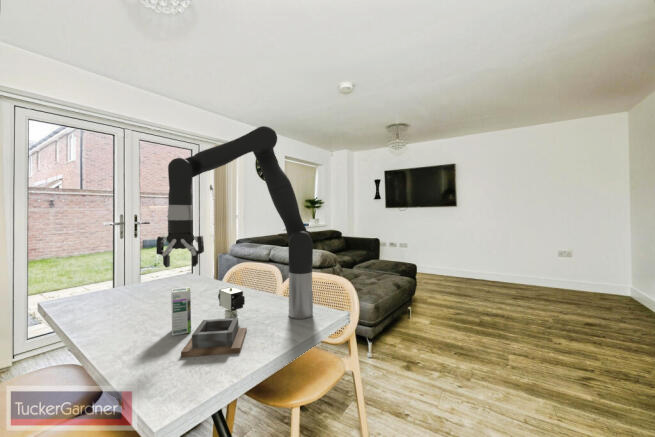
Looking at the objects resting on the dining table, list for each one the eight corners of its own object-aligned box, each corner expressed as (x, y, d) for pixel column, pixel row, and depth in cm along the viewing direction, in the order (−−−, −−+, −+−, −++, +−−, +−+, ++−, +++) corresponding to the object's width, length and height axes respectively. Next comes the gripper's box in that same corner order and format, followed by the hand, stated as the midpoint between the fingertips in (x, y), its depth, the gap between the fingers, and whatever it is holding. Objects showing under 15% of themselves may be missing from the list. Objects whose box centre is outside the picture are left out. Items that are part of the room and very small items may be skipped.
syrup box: (171, 336, 90) (171, 292, 90) (172, 329, 95) (171, 287, 95) (191, 332, 92) (190, 290, 92) (190, 326, 98) (190, 285, 97)
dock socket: (246, 332, 93) (246, 315, 93) (240, 352, 79) (240, 334, 79) (196, 335, 91) (196, 318, 91) (180, 357, 77) (180, 337, 77)
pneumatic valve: (233, 324, 99) (233, 291, 99) (217, 316, 107) (217, 286, 106) (247, 320, 103) (247, 288, 103) (230, 312, 111) (230, 283, 111)
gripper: (206, 218, 98) (206, 264, 98) (162, 218, 95) (163, 265, 96) (199, 219, 90) (199, 268, 91) (152, 219, 88) (152, 269, 88)
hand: (180, 266), depth 93 cm, fingers open, 8 cm apart
